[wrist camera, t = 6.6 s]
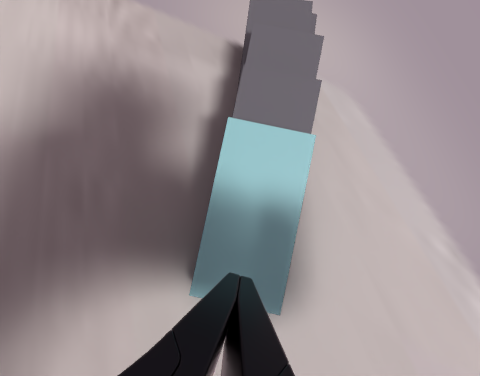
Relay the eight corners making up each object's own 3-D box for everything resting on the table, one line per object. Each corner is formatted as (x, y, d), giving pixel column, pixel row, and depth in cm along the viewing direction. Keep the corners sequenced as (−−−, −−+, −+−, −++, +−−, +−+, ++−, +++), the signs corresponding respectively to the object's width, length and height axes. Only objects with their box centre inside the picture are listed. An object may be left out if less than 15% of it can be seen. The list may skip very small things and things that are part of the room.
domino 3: (290, 237, 15) (321, 80, 16) (209, 220, 15) (243, 64, 16) (285, 234, 17) (314, 91, 17) (212, 218, 17) (243, 76, 18)
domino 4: (280, 315, 14) (315, 135, 14) (189, 295, 14) (228, 117, 14) (275, 303, 15) (308, 142, 16) (194, 285, 15) (229, 125, 16)
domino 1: (300, 119, 19) (312, 1, 20) (234, 111, 19) (251, -6, 20) (295, 127, 21) (307, 17, 22) (235, 119, 21) (250, 10, 22)
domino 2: (296, 175, 17) (323, 36, 18) (224, 161, 17) (253, 22, 18) (291, 178, 19) (317, 50, 19) (226, 164, 19) (252, 37, 19)
